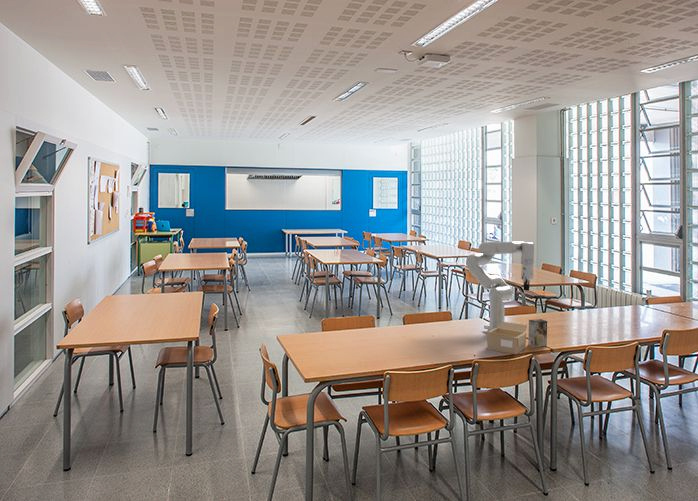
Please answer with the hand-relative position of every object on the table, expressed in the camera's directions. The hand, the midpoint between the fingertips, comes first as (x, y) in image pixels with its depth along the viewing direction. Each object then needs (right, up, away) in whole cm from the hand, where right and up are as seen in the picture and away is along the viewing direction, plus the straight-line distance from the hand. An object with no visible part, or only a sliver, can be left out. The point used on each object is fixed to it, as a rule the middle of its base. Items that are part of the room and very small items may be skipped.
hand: (526, 290), depth 318 cm
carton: (-17, -35, -14) cm, 41 cm away
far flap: (-11, -22, -7) cm, 26 cm away
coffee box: (+4, -34, -7) cm, 35 cm away
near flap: (-24, -24, -23) cm, 41 cm away
